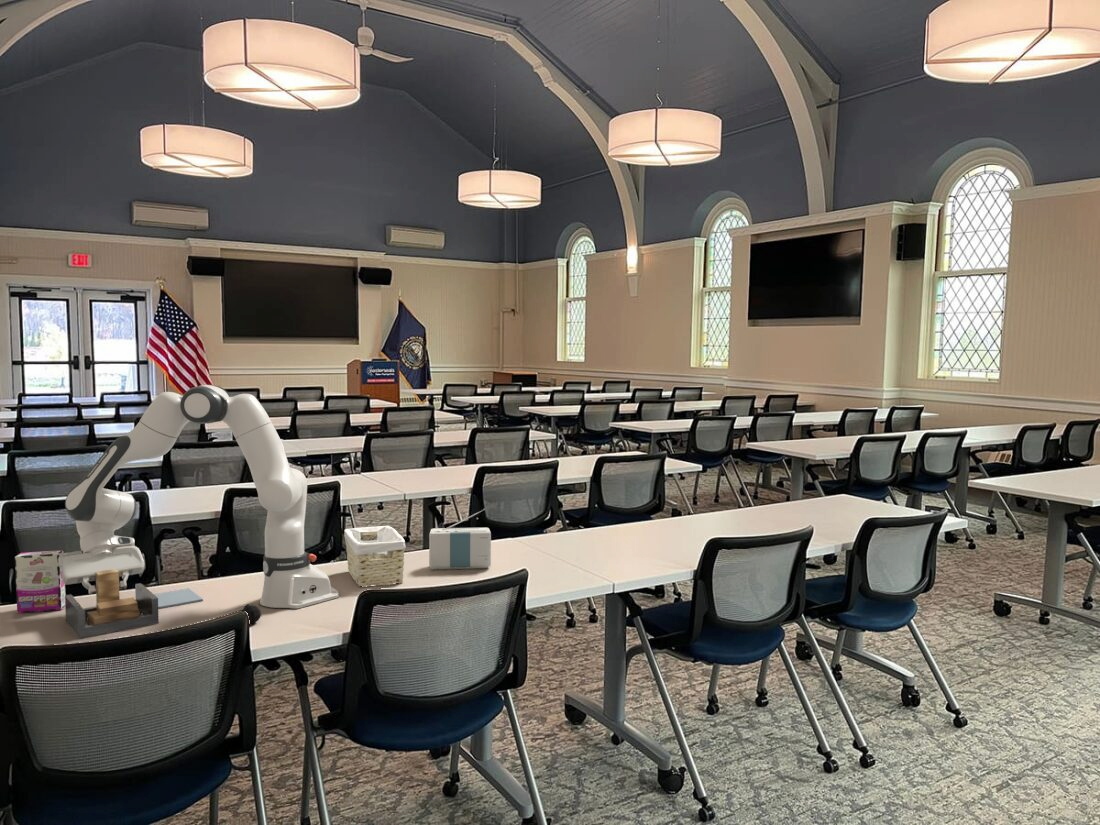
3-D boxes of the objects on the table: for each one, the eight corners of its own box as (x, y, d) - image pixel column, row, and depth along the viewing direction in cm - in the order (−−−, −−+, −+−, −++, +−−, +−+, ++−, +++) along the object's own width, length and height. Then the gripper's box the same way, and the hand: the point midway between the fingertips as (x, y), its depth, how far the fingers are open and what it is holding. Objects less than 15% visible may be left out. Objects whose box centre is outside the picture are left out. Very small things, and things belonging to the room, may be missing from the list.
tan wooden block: (117, 614, 227) (115, 568, 226) (120, 617, 224) (118, 571, 223) (97, 618, 223) (95, 571, 222) (99, 621, 221) (98, 574, 220)
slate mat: (188, 590, 250) (188, 588, 250) (202, 601, 240) (202, 599, 239) (139, 598, 241) (139, 596, 241) (151, 610, 231) (151, 608, 230)
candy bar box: (66, 605, 234) (64, 549, 233) (61, 610, 230) (59, 553, 228) (22, 608, 231) (20, 551, 230) (16, 613, 226) (14, 556, 225)
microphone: (188, 651, 208) (264, 625, 221) (187, 633, 206) (264, 607, 219) (181, 640, 212) (255, 614, 225) (180, 621, 210) (255, 597, 223)
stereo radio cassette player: (429, 571, 275) (429, 513, 273) (429, 565, 283) (429, 508, 281) (490, 569, 277) (491, 512, 276) (489, 563, 286) (489, 507, 284)
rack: (141, 607, 233) (140, 583, 233) (158, 623, 220) (158, 598, 219) (65, 620, 221) (64, 595, 221) (79, 638, 207) (78, 611, 207)
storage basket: (407, 585, 259) (407, 539, 258) (355, 590, 252) (355, 543, 251) (390, 566, 281) (390, 524, 279) (343, 571, 274) (342, 528, 273)
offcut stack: (136, 617, 225) (135, 596, 225) (143, 623, 220) (142, 602, 220) (87, 626, 217) (86, 604, 217) (93, 633, 212) (92, 611, 212)
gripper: (58, 547, 221) (66, 591, 214) (139, 537, 234) (149, 577, 227) (55, 560, 224) (63, 603, 218) (136, 549, 238) (146, 589, 231)
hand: (108, 590), depth 223 cm, fingers open, 6 cm apart
